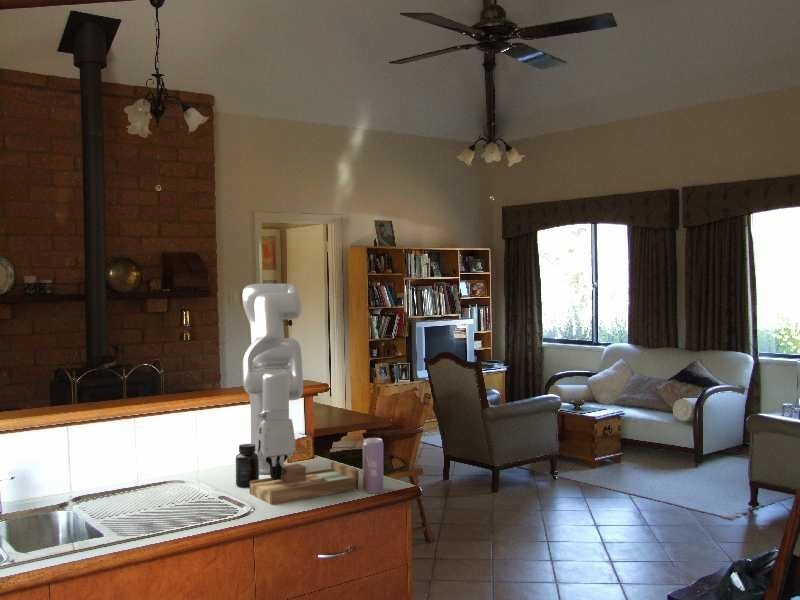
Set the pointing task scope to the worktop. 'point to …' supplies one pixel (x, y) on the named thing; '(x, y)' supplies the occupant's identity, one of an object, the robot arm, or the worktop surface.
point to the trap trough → (306, 485)
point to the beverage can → (373, 465)
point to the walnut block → (293, 473)
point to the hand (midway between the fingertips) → (275, 478)
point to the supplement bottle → (246, 465)
